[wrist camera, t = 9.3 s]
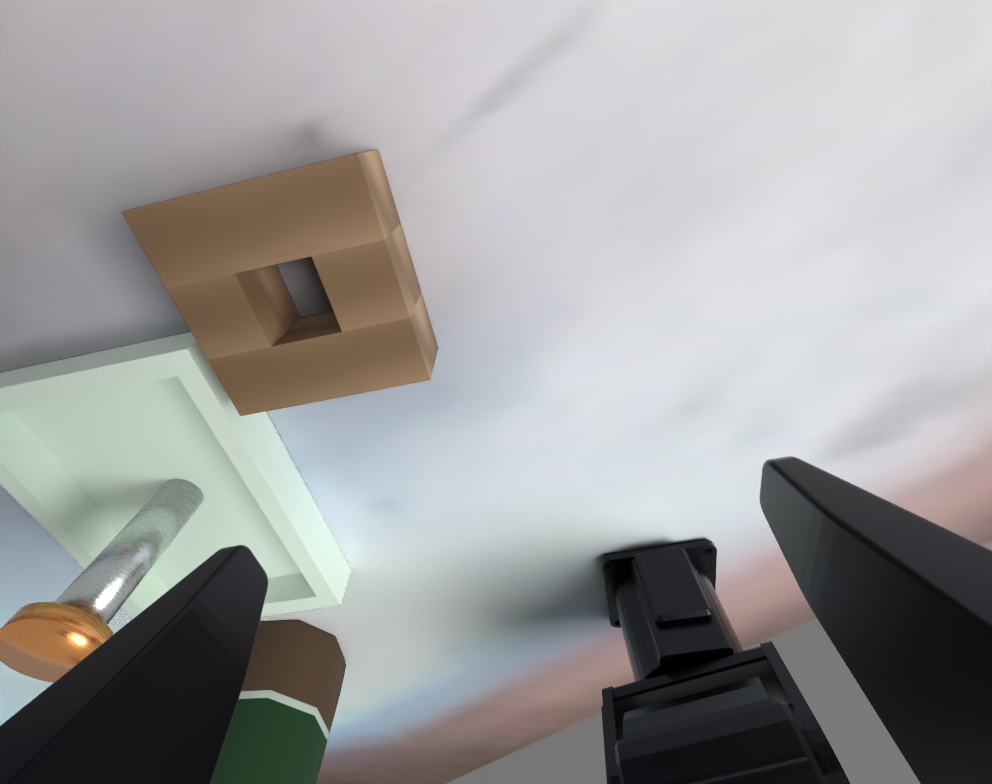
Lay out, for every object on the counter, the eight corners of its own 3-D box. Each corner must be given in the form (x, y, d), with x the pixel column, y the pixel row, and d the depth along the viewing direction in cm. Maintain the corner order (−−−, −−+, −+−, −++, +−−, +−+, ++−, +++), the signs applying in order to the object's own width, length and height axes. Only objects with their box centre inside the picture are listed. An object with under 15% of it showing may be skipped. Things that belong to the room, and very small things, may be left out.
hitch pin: (229, 512, 25) (115, 677, 17) (172, 521, 25) (36, 688, 18) (195, 462, 23) (53, 622, 15) (135, 473, 23) (-34, 635, 16)
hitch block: (438, 348, 20) (430, 379, 18) (271, 381, 21) (240, 416, 19) (378, 149, 17) (356, 153, 14) (177, 199, 17) (120, 211, 15)
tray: (352, 569, 28) (340, 605, 26) (171, 597, 29) (146, 633, 27) (218, 325, 20) (186, 348, 18) (-22, 377, 21) (-78, 404, 19)
